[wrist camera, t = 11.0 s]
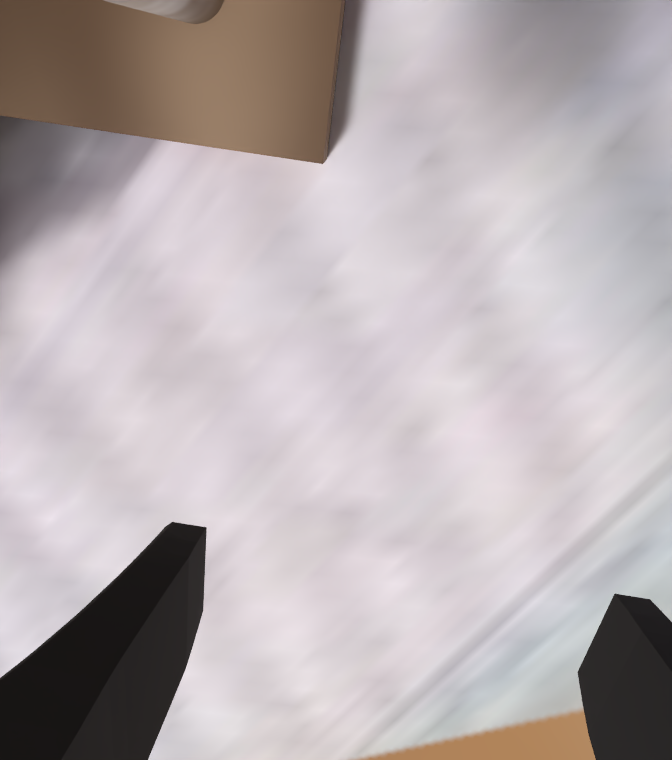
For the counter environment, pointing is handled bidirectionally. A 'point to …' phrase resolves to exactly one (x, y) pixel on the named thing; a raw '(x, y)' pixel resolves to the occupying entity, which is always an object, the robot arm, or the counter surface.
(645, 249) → the counter surface
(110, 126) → the stake board
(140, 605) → the robot arm
